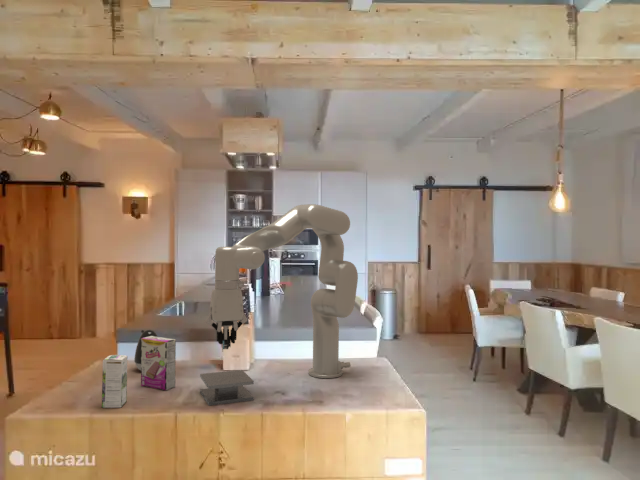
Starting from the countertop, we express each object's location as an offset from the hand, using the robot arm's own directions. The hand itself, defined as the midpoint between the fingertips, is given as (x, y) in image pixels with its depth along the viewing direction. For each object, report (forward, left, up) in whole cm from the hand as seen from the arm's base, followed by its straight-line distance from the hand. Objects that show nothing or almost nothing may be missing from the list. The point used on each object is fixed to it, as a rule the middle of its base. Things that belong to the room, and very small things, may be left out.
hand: (226, 342), depth 166 cm
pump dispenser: (+20, -41, -17) cm, 49 cm away
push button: (0, 0, -2) cm, 2 cm away
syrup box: (+33, -4, -17) cm, 37 cm away
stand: (0, 0, -17) cm, 17 cm away
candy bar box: (+19, -18, -17) cm, 31 cm away
